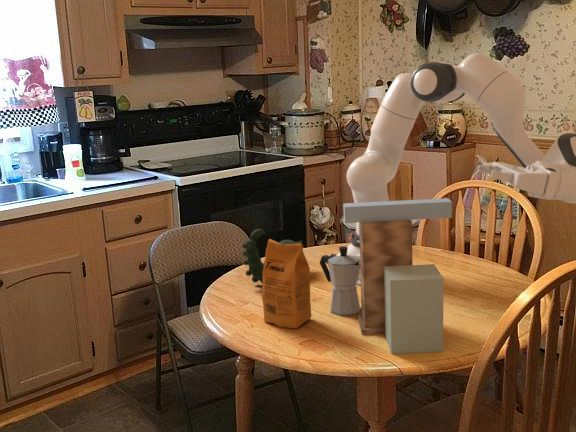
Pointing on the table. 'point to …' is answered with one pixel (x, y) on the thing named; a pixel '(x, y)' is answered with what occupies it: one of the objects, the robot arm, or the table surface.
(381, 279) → the walnut stand
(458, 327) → the table surface
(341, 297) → the coffee maker
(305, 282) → the coffee package
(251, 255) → the toy figurine
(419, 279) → the step block
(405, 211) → the rail
